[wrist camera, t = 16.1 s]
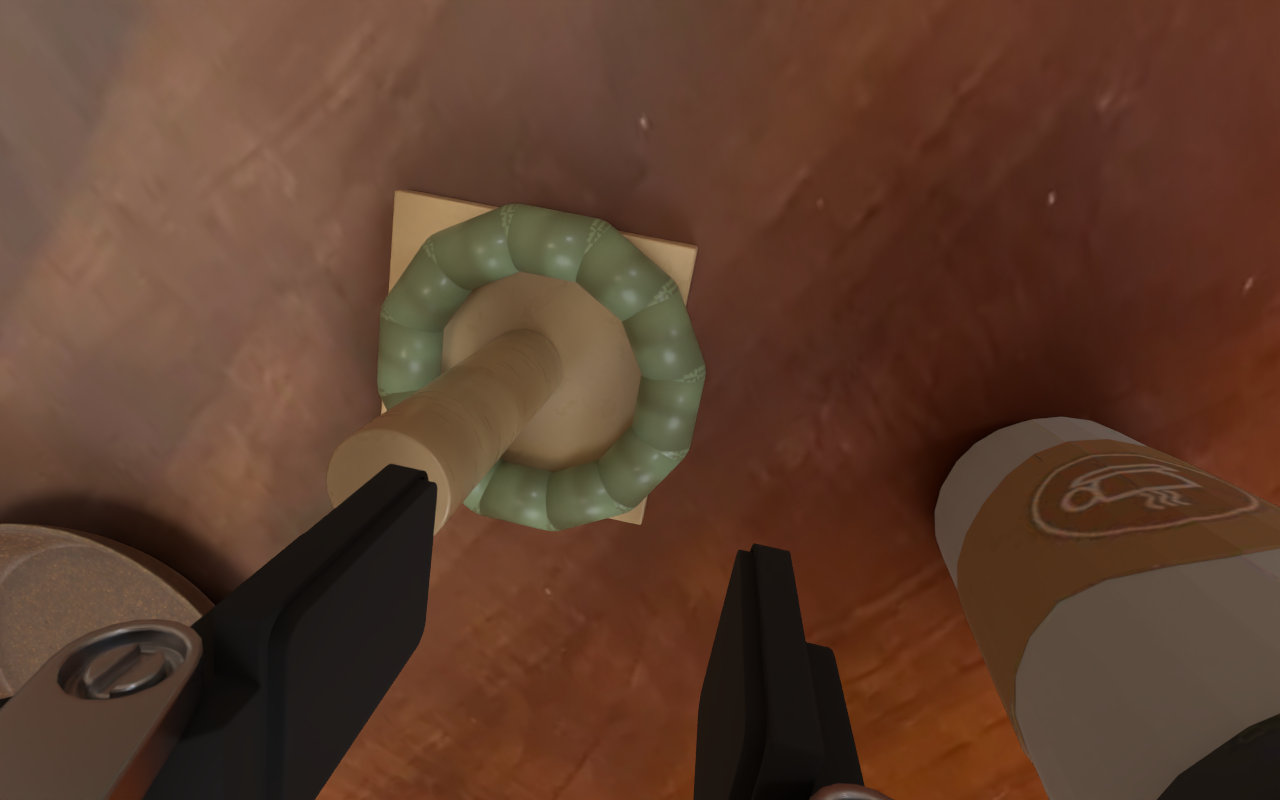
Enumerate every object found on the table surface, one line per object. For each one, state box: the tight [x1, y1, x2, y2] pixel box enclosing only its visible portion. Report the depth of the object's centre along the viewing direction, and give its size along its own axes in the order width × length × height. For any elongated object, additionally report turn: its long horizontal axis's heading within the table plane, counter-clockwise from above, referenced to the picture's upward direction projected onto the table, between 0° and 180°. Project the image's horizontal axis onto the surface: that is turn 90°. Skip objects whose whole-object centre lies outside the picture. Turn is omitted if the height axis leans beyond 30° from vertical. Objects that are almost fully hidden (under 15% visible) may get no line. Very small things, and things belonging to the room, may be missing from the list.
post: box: [326, 190, 698, 536], centre depth 17 cm, size 9×9×10 cm
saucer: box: [0, 523, 215, 699], centre depth 27 cm, size 15×15×3 cm
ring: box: [377, 203, 706, 531], centre depth 20 cm, size 10×10×2 cm
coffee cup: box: [935, 417, 1280, 800], centre depth 14 cm, size 8×8×15 cm
